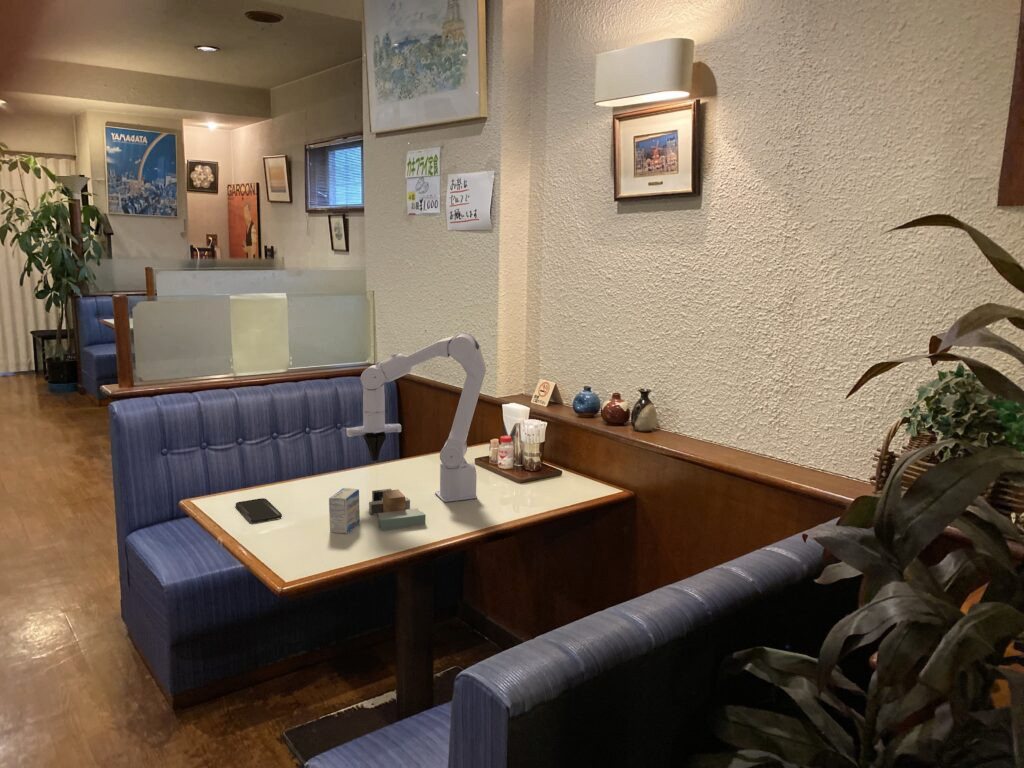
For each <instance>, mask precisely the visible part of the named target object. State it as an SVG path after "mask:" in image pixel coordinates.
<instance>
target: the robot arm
mask: <svg viewBox="0 0 1024 768" xmlns="http://www.w3.org/2000/svg"><path fill="white" fill-rule="evenodd" d="M436 357H441V358H442V357H443V358H446V359H448V358H450V357H451V358H452V359H453V360H454V361H456V362H457V363H458V364H460V366H461V367H462V369H463V370H464V371H465V373H466V375H465V376H466V377H465V380H464V384H463V387H462V390H461V394H460V397H459V402H458V405H457V408H456V412H455V414H454V415H455V416H454V418H453V423H452V426H451V428H450V429H451V430H450V432H449V435H448V438H447V439H446V441H445V442H444V446H443V447H442V448H441V450H440V452H439V459H440V463H439V490H437V491H434V494H435V495H436V496H437V497H438V498H439V499H441V501H443V503H449V502H457V501H464V500H472V499H473V500H474V499H477V498H478V495H477V470H476V469H477V468H476V466H475V464H474V463H473V462H468V461H467V460H466V458H465V456H466V454H467V451H468V445H467V444H468V443H467V439H468V436H469V431H470V427H471V423H472V421H473V417H474V413H475V409H476V407H477V403H478V400H479V396H480V394H481V389H482V386H483V383H484V379H485V376H486V372H487V366H486V363H485V360H484V357H483V354H482V350H481V346H480V343H479V342H478V340H477V339H476V338H475V337H474V336H473V335H472V334H471V333H468V332H461V333H458V334H457V335H456V336H455V335H452V336H448V337H446V338H442V339H440V340H437V341H436V342H433V343H431V344H429V345H427V346H425V347H423V348H421V349H418V350H417V351H414V352H412V353H410V354H408V355H407V354H405V353H402V352H400V353H398V354H397V352H395V353H392V354H391V357H388V358H386V359H384V360H382V361H380V360H378V361H376V362H374V363H375V364H373V365H371V366H369V367H367V368H366V369H364V370H363V372H362V373H361V375H360V384H361V385H362V413H363V417H362V419H363V421H362V424H363V425H360V426H354V427H346V436H347V437H348V438H352V437H355V436H362V437H363V439H364V442H365V443H366V446H367V448H368V451H369V456H370V460H371V461H372V462H376V461H379V457H380V452H381V449H382V448H383V444H384V443H385V441H386V440H387V439H386V438H387V435H386V433H387V434H388V433H401V432H402V425H401V424H400V423H386V412H385V410H386V400H385V399H386V395H385V383H390V382H392V381H395V380H397V379H399V378H401V377H403V376H404V377H405V376H406V375H408V374H410V373H411V371H412V368H413V367H414V366H417V365H419V364H421V363H422V364H423V363H424V362H426V361H429V360H431V359H434V358H436Z"/></svg>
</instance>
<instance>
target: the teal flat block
mask: <svg viewBox="0 0 1024 768" xmlns="http://www.w3.org/2000/svg"><path fill="white" fill-rule="evenodd" d="M377 524H378V529H380V531H387V530H394V529H400V528H401V529H402V528H409V527H418V526H423V525H426V513H425V512H423V511H420V509H418V508H416V507H415V508H410V509H408V510H400V511H392V512H384V513H378V514H377Z"/></svg>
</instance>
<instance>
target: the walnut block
mask: <svg viewBox="0 0 1024 768" xmlns="http://www.w3.org/2000/svg"><path fill="white" fill-rule="evenodd" d="M405 498H406V496H405V495H404V494H403V493H402V492H401V491H400V489H398V488H397V489H392V490H388V491H383V513H384V512H392V511H400V510H405Z"/></svg>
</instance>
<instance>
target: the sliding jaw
mask: <svg viewBox="0 0 1024 768" xmlns="http://www.w3.org/2000/svg"><path fill="white" fill-rule="evenodd" d="M388 490H393V489H392V488H385V489H384V488H383V489H375V490H372V491H371V492H372V493H371V495H372V496H371V499H372V500H371V501H369V502H368V512H369V513H370V515H378V513H383V491H388ZM408 509H411V500H410V499H409V498H408V497H406V496H405V510H408Z"/></svg>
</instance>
